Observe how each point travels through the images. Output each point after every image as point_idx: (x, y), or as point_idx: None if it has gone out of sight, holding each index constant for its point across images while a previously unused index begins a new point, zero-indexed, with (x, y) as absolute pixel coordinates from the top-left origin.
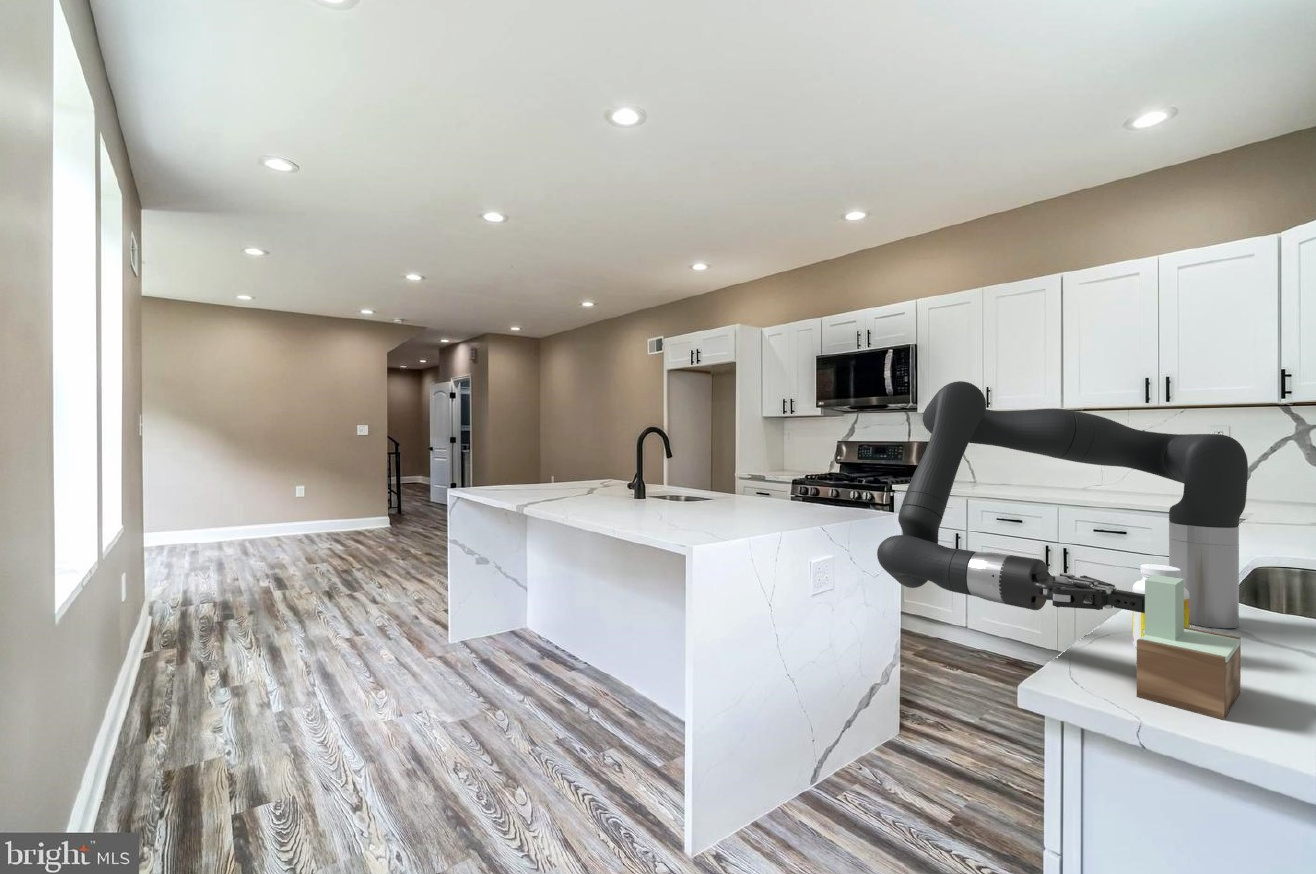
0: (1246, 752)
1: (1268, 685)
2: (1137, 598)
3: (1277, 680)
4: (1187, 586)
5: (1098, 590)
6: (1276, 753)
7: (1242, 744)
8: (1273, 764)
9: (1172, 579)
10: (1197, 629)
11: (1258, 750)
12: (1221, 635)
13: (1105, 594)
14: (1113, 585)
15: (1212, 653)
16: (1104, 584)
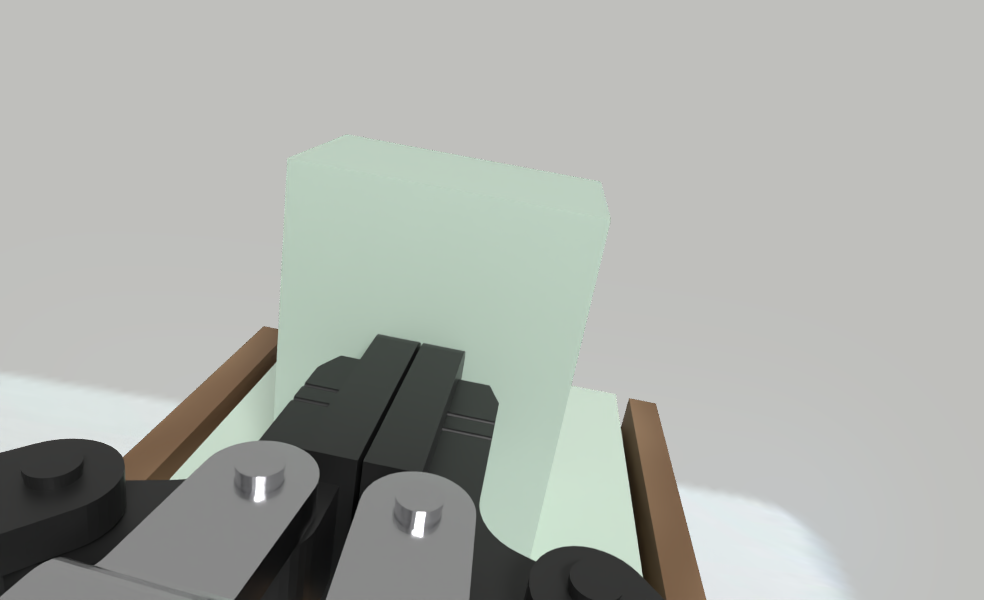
0: (808, 573)
1: (116, 444)
2: (462, 397)
3: (41, 419)
4: None
5: (616, 578)
6: (737, 526)
7: (760, 572)
8: (818, 541)
9: (418, 155)
10: (200, 391)
11: (761, 551)
12: (267, 356)
13: (508, 563)
14: (82, 449)
15: (617, 415)
16: (50, 515)
